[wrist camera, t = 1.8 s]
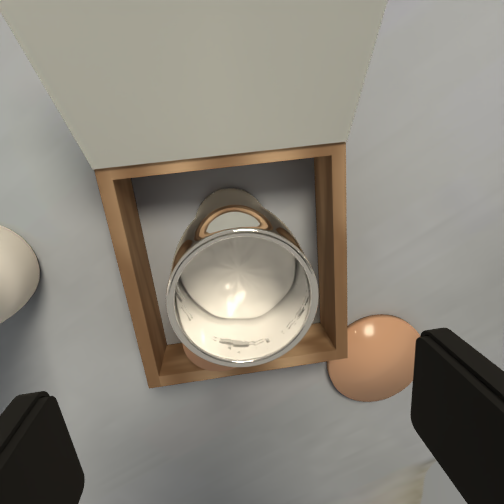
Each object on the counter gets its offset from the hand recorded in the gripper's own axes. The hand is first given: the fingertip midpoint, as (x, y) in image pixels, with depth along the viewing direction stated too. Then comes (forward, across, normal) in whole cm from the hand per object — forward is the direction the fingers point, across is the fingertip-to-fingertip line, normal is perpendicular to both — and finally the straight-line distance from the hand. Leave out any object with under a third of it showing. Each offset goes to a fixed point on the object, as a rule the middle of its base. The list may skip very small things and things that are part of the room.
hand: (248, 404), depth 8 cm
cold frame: (+21, -1, +3) cm, 21 cm away
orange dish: (+20, -14, +16) cm, 29 cm away
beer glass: (+21, -1, 0) cm, 21 cm away
